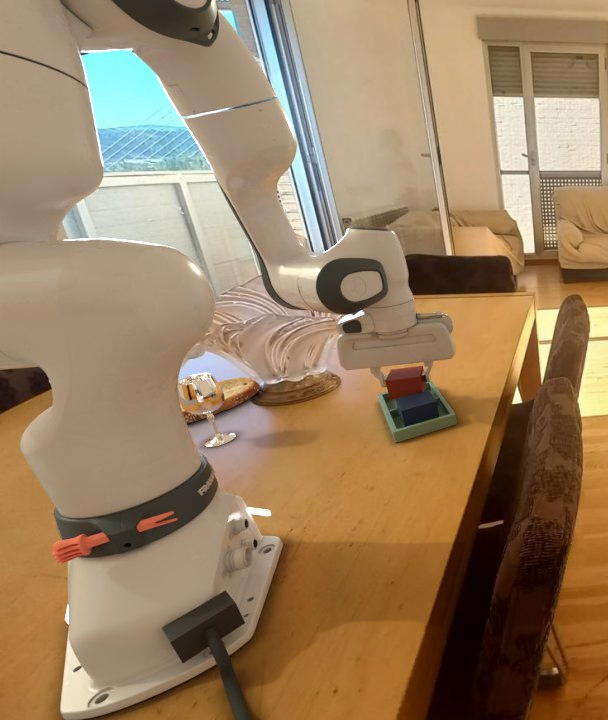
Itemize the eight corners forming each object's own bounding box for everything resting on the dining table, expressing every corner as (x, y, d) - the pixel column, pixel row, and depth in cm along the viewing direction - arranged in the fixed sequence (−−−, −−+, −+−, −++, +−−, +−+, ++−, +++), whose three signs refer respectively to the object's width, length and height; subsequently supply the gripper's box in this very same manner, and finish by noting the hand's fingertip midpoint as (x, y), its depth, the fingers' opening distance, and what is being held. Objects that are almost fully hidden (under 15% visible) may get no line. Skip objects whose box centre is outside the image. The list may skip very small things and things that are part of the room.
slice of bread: (267, 383, 105) (262, 368, 104) (227, 423, 89) (219, 406, 88) (173, 394, 101) (166, 378, 100) (113, 438, 85) (103, 420, 84)
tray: (457, 424, 87) (455, 414, 86) (395, 443, 81) (392, 432, 81) (433, 389, 100) (431, 380, 99) (379, 403, 95) (377, 394, 94)
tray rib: (439, 404, 93) (438, 397, 92) (391, 418, 88) (389, 411, 88) (439, 403, 93) (437, 396, 92) (391, 416, 89) (389, 409, 88)
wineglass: (217, 450, 81) (190, 387, 76) (190, 447, 82) (162, 385, 77) (248, 432, 86) (224, 372, 81) (222, 430, 87) (197, 370, 82)
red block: (423, 395, 91) (419, 377, 90) (389, 399, 90) (385, 381, 88) (426, 383, 96) (422, 365, 95) (395, 387, 95) (390, 369, 93)
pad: (440, 420, 87) (436, 401, 85) (406, 430, 84) (401, 410, 82) (432, 408, 91) (429, 390, 90) (399, 417, 88) (395, 399, 87)
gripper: (451, 305, 92) (463, 370, 97) (336, 316, 88) (355, 383, 93) (448, 315, 86) (460, 383, 92) (325, 327, 82) (346, 397, 87)
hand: (406, 383), depth 92 cm, fingers closed on red block, 6 cm apart
